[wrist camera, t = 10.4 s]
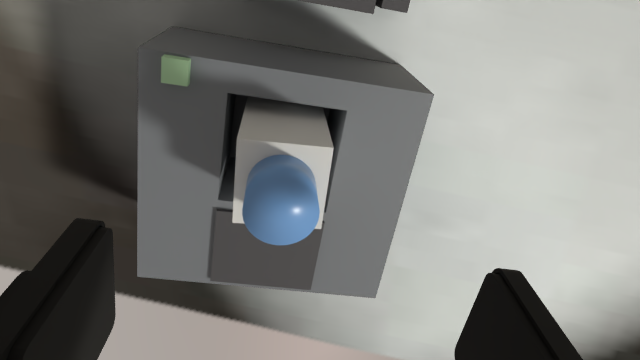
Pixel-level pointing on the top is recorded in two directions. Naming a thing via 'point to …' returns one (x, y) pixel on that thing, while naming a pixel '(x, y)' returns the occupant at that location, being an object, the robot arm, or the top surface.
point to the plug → (281, 170)
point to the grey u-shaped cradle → (365, 4)
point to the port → (220, 157)
